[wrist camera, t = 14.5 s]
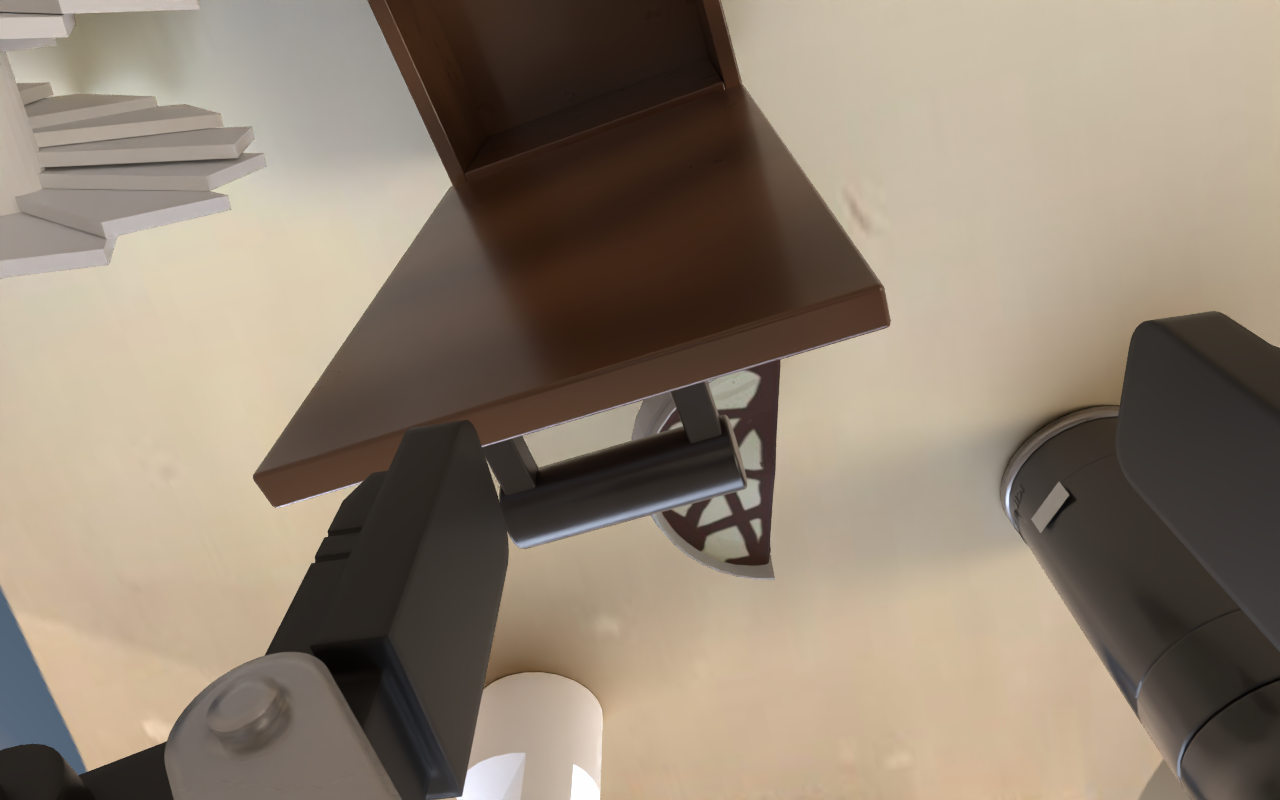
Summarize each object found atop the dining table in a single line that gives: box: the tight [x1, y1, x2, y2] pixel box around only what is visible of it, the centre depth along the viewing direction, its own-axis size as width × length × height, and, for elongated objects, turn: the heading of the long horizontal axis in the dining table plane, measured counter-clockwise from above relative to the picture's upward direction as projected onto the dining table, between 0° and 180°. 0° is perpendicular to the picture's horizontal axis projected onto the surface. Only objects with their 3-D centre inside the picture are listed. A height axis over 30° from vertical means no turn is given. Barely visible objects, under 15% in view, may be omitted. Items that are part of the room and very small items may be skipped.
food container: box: [632, 357, 788, 580], centre depth 37 cm, size 12×6×10 cm, turn 2°
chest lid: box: [253, 84, 891, 549], centre depth 22 cm, size 18×11×5 cm
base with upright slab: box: [457, 672, 603, 800], centre depth 50 cm, size 9×9×12 cm
